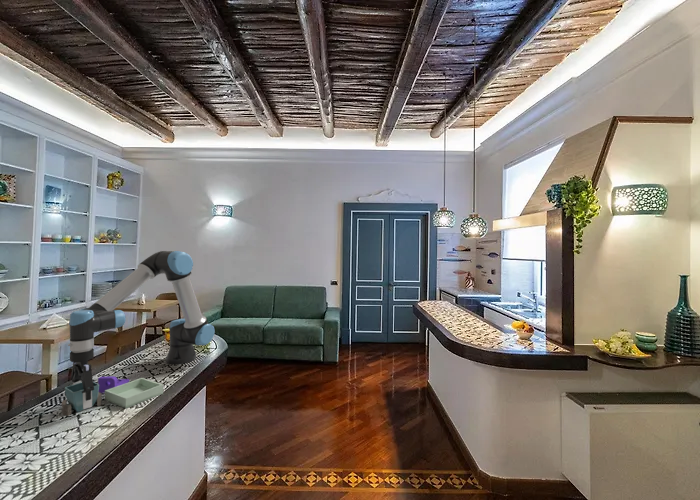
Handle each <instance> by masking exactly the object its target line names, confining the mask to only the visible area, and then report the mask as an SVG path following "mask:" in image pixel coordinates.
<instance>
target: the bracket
mask: <svg viewBox="0 0 700 500" xmlns="http://www.w3.org/2000/svg"><path fill="white" fill-rule="evenodd" d="M128 382H130V378H119V379H118V378H117V376H113V375H111V376H110V375H109V376H106V375H105V376H100V377H98V378H97V384H99V391H98V392H100V393H102V394H105V390H108V389H111V388H114V387H117V386H119V385H122V384H125V383H128Z"/></svg>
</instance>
